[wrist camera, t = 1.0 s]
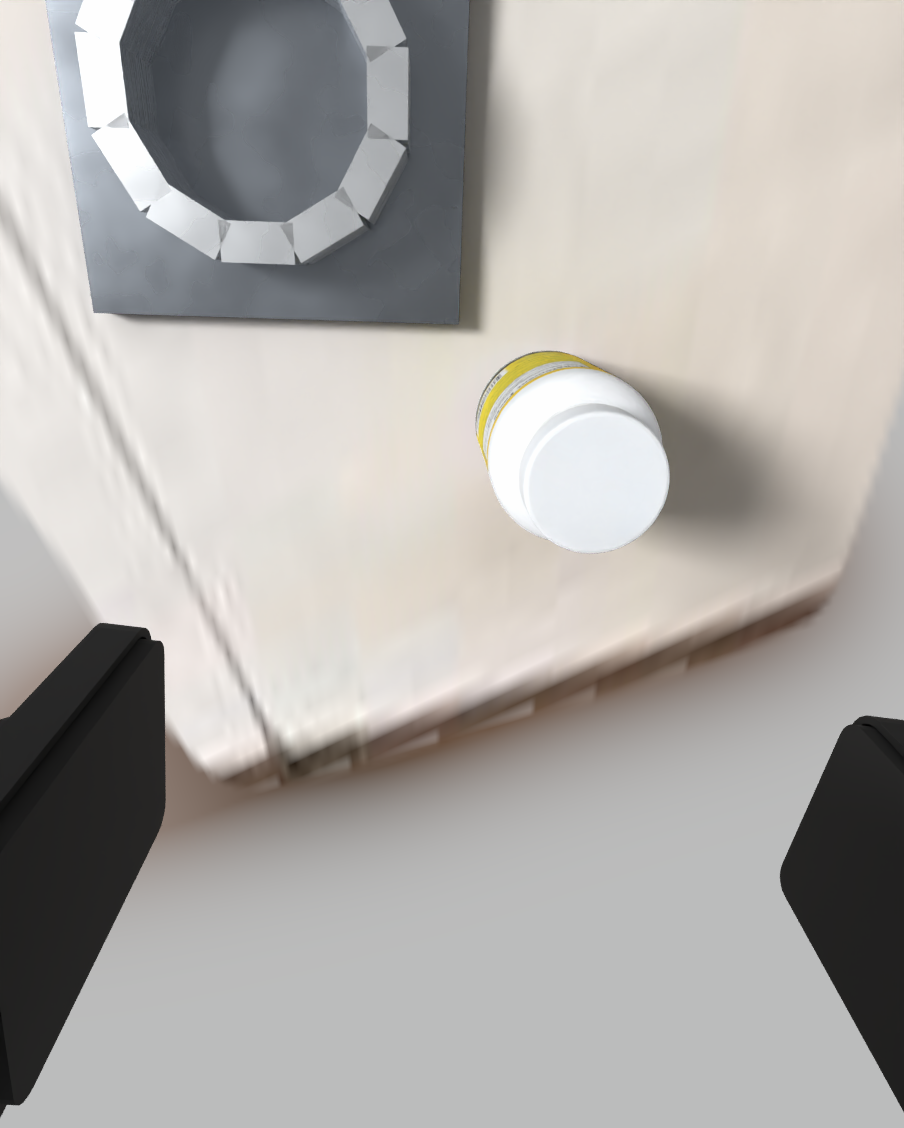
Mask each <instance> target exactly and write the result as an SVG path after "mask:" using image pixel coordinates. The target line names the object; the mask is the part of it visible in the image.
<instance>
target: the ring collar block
mask: <svg viewBox="0 0 904 1128" xmlns="http://www.w3.org/2000/svg"><path fill="white" fill-rule="evenodd" d="M45 1H46V8H47V14H48V21H49V27H50V34H51V40H52V47H53V53H54V59H55V66H56V72H57V79H58V85H59V92H60V98H61V105H62V111H63V117H64V124H65V130H66V137H67V143H68V150H69V156H70V163H71V169H72V175H73V182H74V188H75V195H76V201H77V208H78V214H79V221H80V227H81V233H82V240H83V246H84V253H85V259H86V266H87V272H88V278H89V285H90V291H91V298H92V304H93V311H94V313H114V314H146V315H177V316H209V317H241V318H272V319H304V320H335V321H367V322H399V323H430V324H459V295H460V266H461V236H462V206H463V176H464V146H465V116H466V86H467V56H468V26H469V0H45Z"/></svg>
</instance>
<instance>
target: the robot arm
mask: <svg viewBox="0 0 904 1128" xmlns="http://www.w3.org/2000/svg"><path fill="white" fill-rule="evenodd" d="M165 800H166V799H165V681H164V646H163V643H162V642H161V641H155V640H151V636H150V633H149V631H148V630H147V629H146V628H141V627H132V626H124V625H116V624H108V623H99V624H98V625H97V626H95V627H94V628H93V629H92V630H91V631H90V633H89V634H88V635H87V636H86V637H85V638H84V639H83V640H82V641H81V642H80V643H79V644H78V645H77V646H76V647H75V648H74V649H73V650H72V651H71V653H70V654H69V655H68V656H67V657H66V658H65V659H64V660H63V661H62V662H61V663H60V664H59V665H58V666H57V667H56V668H55V669H54V671H53V672H52V673H51V674H50V675H49V676H48V677H47V678H46V679H45V680H44V681H43V682H42V683H41V685H39V687H37V689H36V690H35V691H34V692H33V693H32V694H31V695H30V696H29V697H28V698H27V699H26V700H25V701H24V702H23V703H22V705H20V707H19V708H18V709H17V710H16V711H15V712H14V713H13V714H12V715H11V716H10V717H7V718H4V719H1V720H0V1117H1V1115H2V1113H3V1111H4V1109H5V1107H6V1105H20V1104H22V1103H23V1102H24V1101H25V1099H26V1098H27V1096H28V1095H29V1094H30V1092H31V1090H32V1088H33V1087H34V1085H35V1083H36V1081H37V1079H38V1076H39V1075H40V1073H41V1070H42V1068H43V1066H44V1064H45V1062H46V1060H47V1058H48V1056H49V1054H50V1052H51V1050H52V1048H53V1046H54V1044H55V1042H56V1040H57V1038H58V1036H59V1034H60V1032H61V1030H62V1027H63V1026H64V1024H65V1021H66V1020H67V1017H68V1015H69V1013H70V1011H71V1009H72V1007H73V1005H74V1003H75V1001H76V999H77V997H78V995H79V993H80V991H81V989H82V987H83V985H84V983H85V981H86V979H87V977H88V975H89V973H90V971H91V969H92V967H93V965H94V962H95V960H96V958H97V956H98V954H99V952H100V950H101V948H102V946H103V944H104V942H105V940H106V938H107V936H108V934H109V932H110V930H111V928H112V926H113V923H114V922H115V920H116V918H117V916H118V914H119V912H120V909H121V907H122V905H123V903H124V901H125V899H126V897H127V895H128V893H129V891H130V889H131V887H132V885H133V883H134V881H135V879H136V877H137V875H138V873H139V871H140V868H141V867H142V864H143V863H144V861H145V859H146V857H147V854H148V852H149V850H150V848H151V846H152V844H153V842H154V840H155V838H156V836H157V834H158V832H159V829H160V827H161V824H162V820H163V816H164V811H165ZM780 882H781V887H782V891H783V893H784V895H785V897H786V899H787V901H788V903H789V904H790V906H791V908H792V910H793V912H794V914H795V915H796V917H797V919H798V921H799V923H800V924H801V926H802V928H803V930H804V932H805V933H806V935H807V937H808V939H809V941H810V943H811V944H812V946H813V948H814V950H815V951H816V953H817V955H818V957H819V959H820V961H821V963H822V964H823V966H824V968H825V970H826V972H827V973H828V975H829V977H830V979H831V981H832V982H833V984H834V986H835V988H836V990H837V992H838V993H839V995H840V997H841V999H842V1000H843V1002H844V1004H845V1006H846V1008H847V1010H848V1011H849V1013H850V1015H851V1017H852V1019H853V1020H854V1022H855V1024H856V1026H857V1028H858V1030H859V1031H860V1033H861V1035H862V1037H863V1039H864V1040H865V1042H866V1044H867V1046H868V1048H869V1050H870V1051H871V1053H872V1055H873V1057H874V1058H875V1060H876V1062H877V1064H878V1066H879V1068H880V1070H881V1071H882V1073H883V1075H884V1077H885V1079H886V1080H887V1082H888V1084H889V1086H890V1088H891V1090H892V1091H893V1093H894V1095H895V1097H896V1098H897V1100H898V1102H899V1104H900V1106H901V1108H902V1109H903V1111H904V720H898V719H889V718H881V717H873V716H863V717H859V718H858V719H857V720H856V721H855V722H854V723H853V724H852V725H848V726H846V727H845V728H844V729H843V731H842V732H841V734H840V736H839V738H838V741H837V743H836V745H835V747H834V749H833V752H832V754H831V756H830V759H829V761H828V763H827V765H826V767H825V770H824V772H823V774H822V776H821V779H820V781H819V783H818V785H817V788H816V790H815V792H814V794H813V797H812V799H811V801H810V804H809V805H808V808H807V810H806V812H805V814H804V817H803V819H802V821H801V823H800V826H799V828H798V830H797V832H796V835H795V837H794V839H793V841H792V844H791V846H790V848H789V850H788V853H787V855H786V857H785V859H784V861H783V864H782V867H781V871H780Z"/></svg>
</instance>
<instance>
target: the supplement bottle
mask: <svg viewBox="0 0 904 1128" xmlns="http://www.w3.org/2000/svg"><path fill="white" fill-rule="evenodd" d="M475 425H476V435H477V439H478V443H479V447H480V450H481V453H482V456H483V459H484V462H485V465H486V468H487V471H488V474H489V477H490V480H491V483H492V487H493V489H494V492H495V494H496V496H497V498H498V500H499V502H500V504H501V506H502V507H503V509H504V510H505V511H506V513H507V514H508V515H509V516H510V517H511V518H512V519H513V520H514V521H515V522H516V523H517V524H518V525H519V526H521V527H522V528H524V529H525V530H527V531H528V532H530V533H532V534H534V535H536V536H538V537H541V538H544V539H547V540H550V541H551V542H553V543H554V544H556V545H558V546H560V547H562V548H565V549H567V550H570V551H574V552H578V553H589V554H593V553H603V552H609V551H612V550H615V549H618V548H620V547H623V546H625V545H627V544H629V543H631V542H632V541H634V540H635V539H637V538H638V537H640V536H641V535H642V534H643V533H644V532H645V531H646V530H647V529H648V528H649V527H650V526H651V525H652V524H653V523H654V521H655V520H656V518H657V517H658V515H659V514H660V512H661V510H662V508H663V506H664V504H665V501H666V498H667V494H668V490H669V483H670V470H669V463H668V459H667V455H666V453H665V450H664V448H663V444H662V436H661V432H660V428H659V425H658V422H657V420H656V417H655V415H654V413H653V411H652V409H651V408H650V406H649V405H648V403H647V402H646V401H645V399H644V398H643V397H642V396H641V395H640V394H639V393H638V392H637V391H636V390H635V389H634V388H632V387H631V386H630V385H629V384H627V383H626V382H624V381H623V380H621V379H619V378H617V377H616V376H614V375H612V374H610V373H608V372H606V371H604V370H602V369H600V368H598V367H596V366H594V365H592V364H590V363H588V362H586V361H584V360H583V359H580V358H578V357H576V356H573V355H570V354H567V353H563V352H558V351H537V352H532V353H528V354H524V355H522V356H520V357H518V358H516V359H514V360H512V361H510V362H508V363H507V364H505V365H504V366H503V367H502V368H500V369H499V370H498V371H497V372H496V373H495V374H494V375H493V377H492V378H491V379H490V380H489V382H488V383H487V385H486V386H485V388H484V390H483V392H482V394H481V397H480V399H479V402H478V406H477V411H476V423H475Z"/></svg>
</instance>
